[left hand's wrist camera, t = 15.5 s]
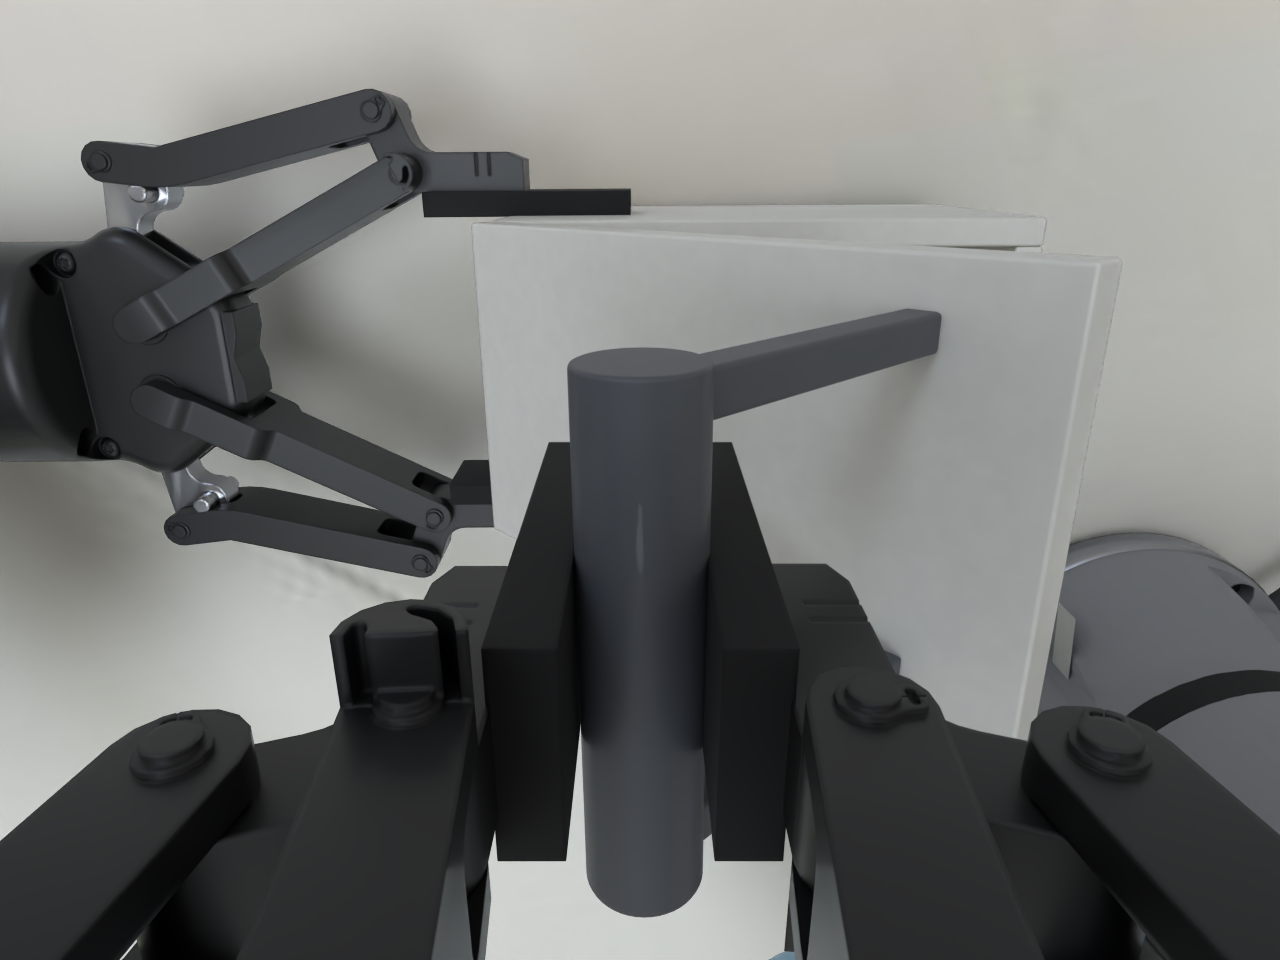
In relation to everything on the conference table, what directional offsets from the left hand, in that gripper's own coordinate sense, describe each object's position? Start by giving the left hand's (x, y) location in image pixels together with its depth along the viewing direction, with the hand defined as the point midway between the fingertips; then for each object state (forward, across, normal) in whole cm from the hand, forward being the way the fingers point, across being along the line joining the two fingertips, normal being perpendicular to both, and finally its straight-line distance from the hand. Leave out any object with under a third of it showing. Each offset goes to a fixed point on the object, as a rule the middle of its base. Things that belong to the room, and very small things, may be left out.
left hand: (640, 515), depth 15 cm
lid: (+5, +2, 0) cm, 5 cm away
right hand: (+15, 0, 0) cm, 15 cm away
